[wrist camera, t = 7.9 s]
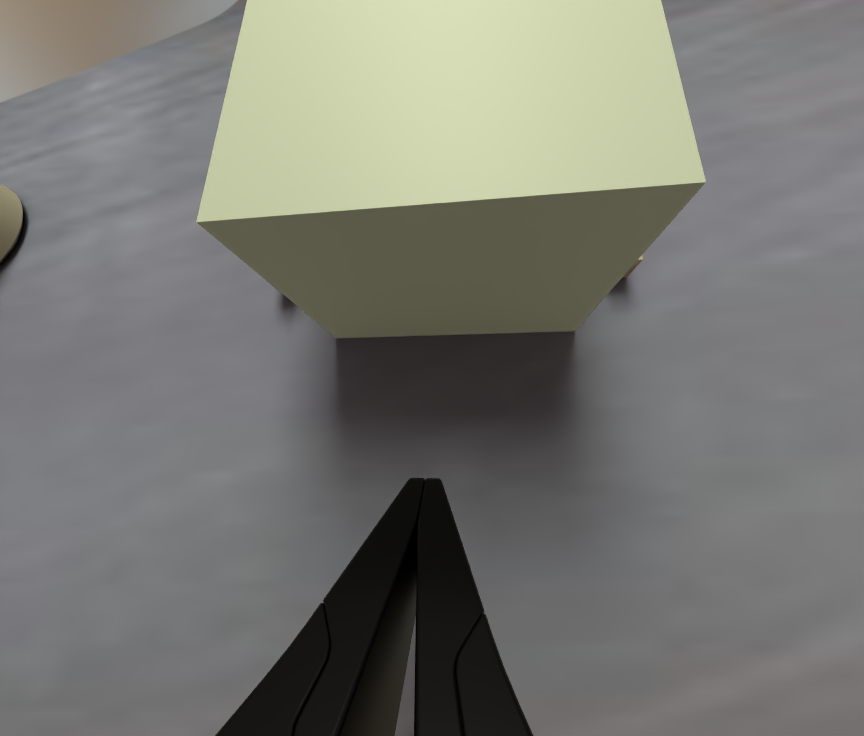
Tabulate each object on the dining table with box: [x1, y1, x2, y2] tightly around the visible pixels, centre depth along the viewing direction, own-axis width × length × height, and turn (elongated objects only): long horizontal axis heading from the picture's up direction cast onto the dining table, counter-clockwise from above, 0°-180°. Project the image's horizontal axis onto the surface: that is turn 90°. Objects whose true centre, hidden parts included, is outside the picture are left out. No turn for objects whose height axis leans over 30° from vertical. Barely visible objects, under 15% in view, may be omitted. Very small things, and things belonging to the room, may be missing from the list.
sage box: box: [197, 0, 706, 338], centre depth 14 cm, size 14×12×9 cm
